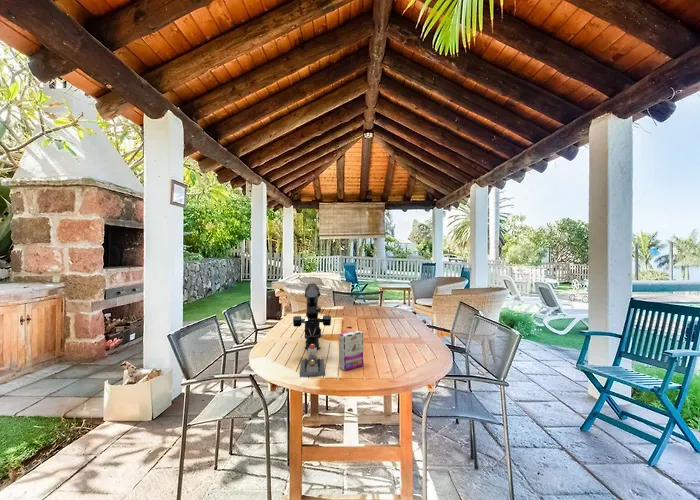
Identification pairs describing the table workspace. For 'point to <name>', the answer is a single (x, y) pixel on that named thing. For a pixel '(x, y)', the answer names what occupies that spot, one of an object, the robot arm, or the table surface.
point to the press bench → (320, 373)
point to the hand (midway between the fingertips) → (312, 336)
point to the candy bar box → (350, 350)
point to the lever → (312, 353)
